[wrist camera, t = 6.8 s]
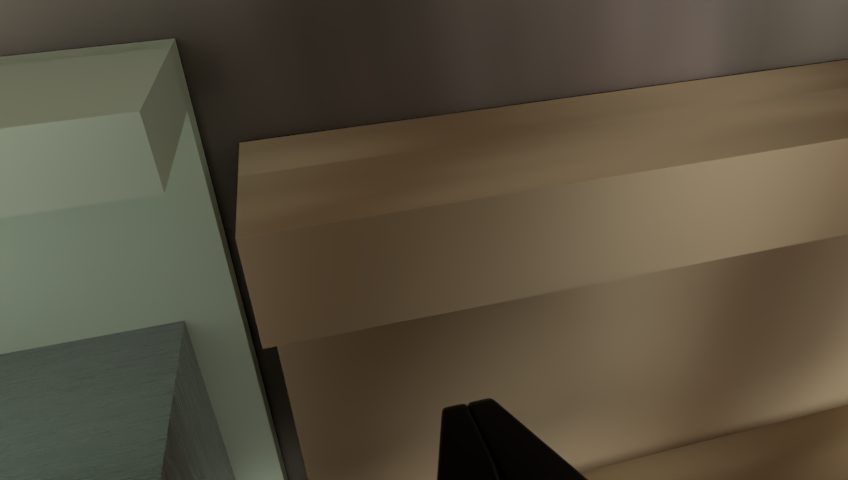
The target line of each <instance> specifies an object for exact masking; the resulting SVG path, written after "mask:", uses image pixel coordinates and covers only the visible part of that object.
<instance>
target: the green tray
mask: <svg viewBox="0 0 848 480" xmlns="http://www.w3.org/2000/svg"><path fill="white" fill-rule="evenodd" d="M179 321H185V324H186V327H187V330H188V334H189V337H190V340H191V343H192V346H193V349H194V352H195V355H196V358H197V361H198V364H199V368H200V371H201V374H202V377H203V380H204V383H205V386H206V389H207V392H208V395H209V398H210V402H211V405H212V408H213V411H214V414H215V417H216V420H217V423H218V426H219V429H220V432H221V436H222V439H223V442H224V445H225V448H226V451H227V454H228V457H229V460H230V463H231V466H232V470H233V473H234V476H235V479H236V480H288V478H287V474H286V470H285V466H284V462H283V458H282V454H281V450H280V446H279V443H278V439H277V435H276V431H275V427H274V423H273V419H272V415H271V411H270V407H269V404H268V400H267V396H266V392H265V388H264V384H263V380H262V376H261V372H260V368H259V365H258V361H257V357H256V353H255V349H254V345H253V341H252V337H251V333H250V329H249V326H248V322H247V318H246V314H245V310H244V306H243V302H242V298H241V294H240V290H239V286H238V283H237V279H236V275H235V271H234V267H233V263H232V259H231V255H230V251H229V247H228V244H227V240H226V236H225V232H224V228H223V224H222V220H221V216H220V212H219V208H218V205H217V201H216V197H215V193H214V189H213V185H212V181H211V177H210V173H209V169H208V166H207V162H206V158H205V154H204V150H203V146H202V142H201V138H200V134H199V130H198V127H197V123H196V119H195V115H194V111H193V107H192V103H191V99H190V95H189V91H188V87H187V84H186V80H185V76H184V72H183V68H182V64H181V60H180V56H179V52H178V48H177V45H176V41H175V38H174V39H164V40H155V41H145V42H136V43H126V44H117V45H107V46H98V47H88V48H79V49H69V50H60V51H50V52H41V53H31V54H22V55H12V56H3V57H0V354H5V353H11V352H16V351H22V350H27V349H33V348H38V347H43V346H49V345H54V344H60V343H65V342H71V341H76V340H81V339H87V338H92V337H98V336H103V335H109V334H114V333H119V332H125V331H130V330H136V329H141V328H147V327H152V326H157V325H163V324H168V323H174V322H179Z"/></svg>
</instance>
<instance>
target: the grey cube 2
mask: <svg viewBox="0 0 848 480" xmlns="http://www.w3.org/2000/svg"><path fill="white" fill-rule="evenodd" d="M0 480H236V479H235V476H234V473H233V470H232V466H231V463H230V460H229V457H228V454H227V451H226V448H225V445H224V442H223V439H222V436H221V432H220V429H219V426H218V423H217V420H216V417H215V414H214V411H213V408H212V405H211V402H210V398H209V395H208V392H207V389H206V386H205V383H204V380H203V377H202V374H201V371H200V368H199V364H198V361H197V358H196V355H195V352H194V349H193V346H192V343H191V340H190V337H189V334H188V330H187V327H186V324H185V321H179V322H174V323H168V324H163V325H157V326H152V327H147V328H141V329H136V330H130V331H125V332H119V333H114V334H109V335H103V336H98V337H92V338H87V339H81V340H76V341H71V342H65V343H60V344H54V345H49V346H43V347H38V348H33V349H27V350H22V351H16V352H11V353H5V354H0Z"/></svg>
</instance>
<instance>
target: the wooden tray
mask: <svg viewBox="0 0 848 480" xmlns="http://www.w3.org/2000/svg"><path fill="white" fill-rule="evenodd" d="M235 239H236V243H237V247H238V251H239V255H240V259H241V263H242V267H243V271H244V275H245V280H246V284H247V288H248V292H249V296H250V300H251V304H252V308H253V312H254V316H255V320H256V324H257V328H258V332H259V336H260V340H261V344H262V348H263V349H265V348H270V347H275V346H277V348H278V352H279V357H280V361H281V365H282V370H283V374H284V378H285V383H286V387H287V391H288V396H289V400H290V404H291V409H292V413H293V417H294V422H295V426H296V430H297V435H298V439H299V443H300V448H301V452H302V456H303V461H304V465H305V469H306V474H307V478H308V480H437V471H438V457H439V443H440V429H441V414H442V410H443V408H445V407H448V406H453V405H458V404H466V405H468V404H469V403H470V402H472V401H477V400H481V399H486V398H491V399H494V400H495V401H496V402H498V403H499V404H500V405H501V406H502V407H503V408H505V409H506V410H507V411H508V412H509V413H510V414H512V415H513V416H514V417H515V418H516V419H518V420H519V421H520V422H521V423H522V424H523V425H525V426H526V427H527V428H528V429H529V430H530V431H532V432H533V433H534V434H535V435H536V436H537V437H539V438H540V439H541V440H542V441H543V442H544V443H546V444H547V445H548V446H549V447H550V448H552V449H553V450H554V451H555V452H556V453H557V454H559V455H560V456H561V457H562V458H563V459H564V460H566V461H567V462H568V463H569V464H570V465H571V466H573V467H574V468H575V469H576V470H577V471H579V472H580V473H581V474H582V475H583V476H584V477H586V478H587V479H588V480H848V60H841V61H834V62H826V63H819V64H812V65H804V66H797V67H790V68H782V69H775V70H768V71H760V72H753V73H746V74H738V75H731V76H724V77H716V78H709V79H702V80H694V81H687V82H680V83H673V84H665V85H658V86H651V87H643V88H636V89H629V90H621V91H614V92H607V93H599V94H592V95H585V96H577V97H570V98H563V99H555V100H548V101H541V102H533V103H526V104H519V105H512V106H504V107H497V108H490V109H482V110H475V111H468V112H460V113H453V114H446V115H438V116H431V117H424V118H416V119H409V120H402V121H394V122H387V123H380V124H372V125H365V126H358V127H351V128H343V129H336V130H329V131H321V132H314V133H307V134H299V135H292V136H285V137H277V138H270V139H263V140H255V141H248V142H241V143H239V162H238V186H237V210H236V234H235Z"/></svg>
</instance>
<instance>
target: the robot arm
mask: <svg viewBox="0 0 848 480" xmlns="http://www.w3.org/2000/svg"><path fill="white" fill-rule="evenodd" d="M437 480H588V479H587V478H586V477H584V476H583V475H582V474H581V473H580V472H579V471H577V470H576V469H575V468H574V467H573V466H571V465H570V464H569V463H568V462H567V461H566V460H564V459H563V458H562V457H561V456H560V455H559V454H557V453H556V452H555V451H554V450H553V449H552V448H550V447H549V446H548V445H547V444H546V443H544V442H543V441H542V440H541V439H540V438H539V437H537V436H536V435H535V434H534V433H533V432H532V431H530V430H529V429H528V428H527V427H526V426H525V425H523V424H522V423H521V422H520V421H519V420H518V419H516V418H515V417H514V416H513V415H512V414H510V413H509V412H508V411H507V410H506V409H505V408H503V407H502V406H501V405H500V404H499V403H498V402H496V401H495V400H494V399H491V398H486V399H481V400H477V401H472V402H470V403H469V404H468V405H466V404H458V405H453V406H448V407H445V408H443V410H442V414H441V429H440V443H439V457H438V471H437Z"/></svg>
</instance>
